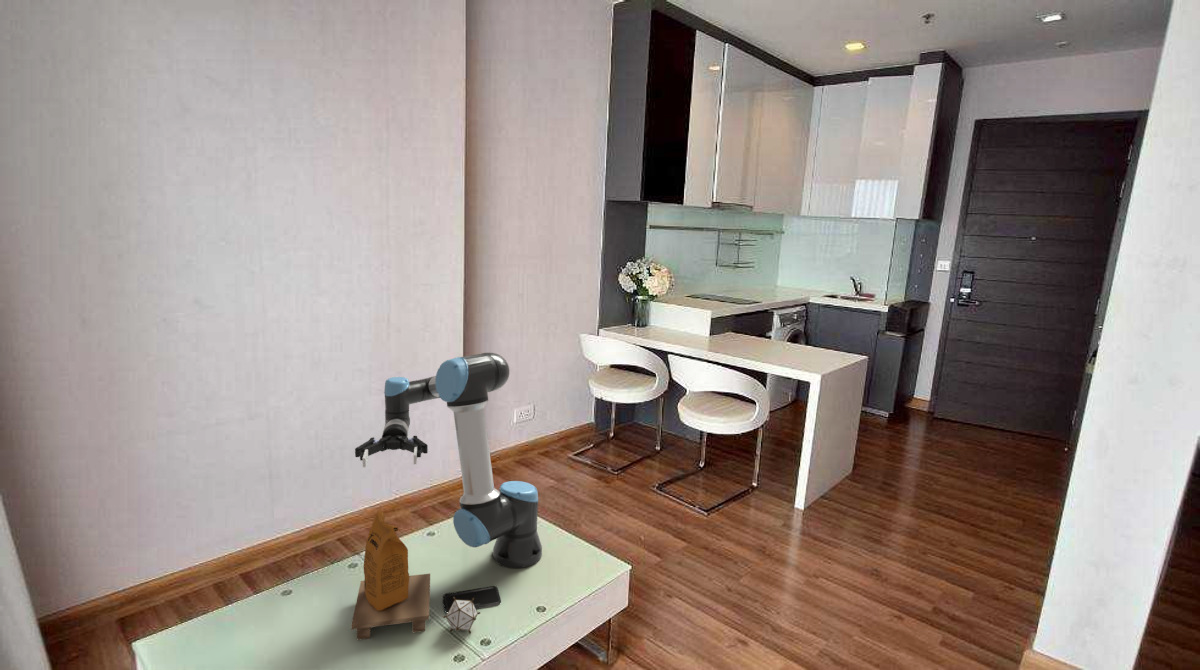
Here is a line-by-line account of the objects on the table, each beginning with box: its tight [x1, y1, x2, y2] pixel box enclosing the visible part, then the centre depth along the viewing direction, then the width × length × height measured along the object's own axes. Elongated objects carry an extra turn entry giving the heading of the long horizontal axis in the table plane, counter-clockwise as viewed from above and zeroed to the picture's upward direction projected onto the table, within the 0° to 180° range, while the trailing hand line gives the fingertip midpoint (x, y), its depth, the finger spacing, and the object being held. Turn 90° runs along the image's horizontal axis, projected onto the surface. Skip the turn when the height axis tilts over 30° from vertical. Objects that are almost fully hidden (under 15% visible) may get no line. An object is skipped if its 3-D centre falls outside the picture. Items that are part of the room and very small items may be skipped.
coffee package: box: [363, 510, 410, 611], centre depth 150 cm, size 10×12×22 cm
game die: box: [442, 597, 481, 634], centre depth 147 cm, size 9×8×10 cm
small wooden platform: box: [350, 573, 431, 641], centre depth 152 cm, size 18×18×5 cm
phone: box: [442, 585, 502, 612], centre depth 159 cm, size 8×1×15 cm
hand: (389, 461), depth 165 cm, fingers open, 13 cm apart
